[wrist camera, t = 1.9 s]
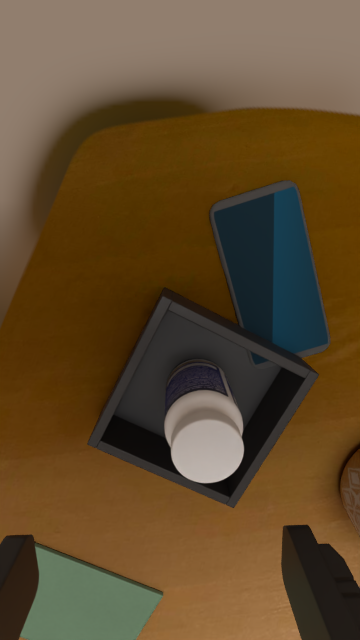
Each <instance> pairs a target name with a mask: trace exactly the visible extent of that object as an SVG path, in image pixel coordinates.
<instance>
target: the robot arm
mask: <svg viewBox="0 0 360 640" xmlns="http://www.w3.org/2000/svg"><path fill="white" fill-rule="evenodd" d="M281 565H282V575H283V581H284V585H285V589H286V592H287V595H288V598H289V601H290V604H291V608H292V611H293V614H294V617H295V620H296V623H297V626H298V629H299V633H300V636H301V639H302V640H360V588H359V587H358V585H357V583H356V581H354V578H353V575H352V573H351V572H350V570H349V568H348V566H347V564H346V562H345V560H344V559H343V558H342V557H341V556H340V555H339V554H338V553H337V552H336V551H335V550H334V548H333V547H332V546H331V545H330V544H318V543H317V541H316V539H315V537H314V535H313V533H312V531H311V529H310V527H309V526H308V525H288V526H284V527H283V537H282V562H281ZM38 584H39V568H38V562H37V555H36V549H35V542H34V538H33V536H32V535H9V536H6V537H5V538H4V539H3V541H2V543H1V544H0V640H19V637H20V635H21V632H22V629H23V627H24V624H25V622H26V619H27V617H28V614H29V612H30V609H31V607H32V604H33V602H34V599H35V597H36V593H37V589H38Z"/></svg>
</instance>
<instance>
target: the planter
mask: <svg viewBox="0 0 360 640" xmlns="http://www.w3.org/2000/svg"><path fill="white" fill-rule="evenodd" d="M340 493H341V499H342V502H343V505H344V507H345V509H346V511H347V513H348V515H349V517H350V519H351V521H352V523H353V525H354V527H355V529H356V531H357V533H358V535H359V537H360V448H359V449H358V450H357V451H356V452H355V453H354V454H353V455H352V457H351V458H350V459H349V461H348V462H347V464H346V466H345V468H344V471H343V473H342V477H341V482H340Z"/></svg>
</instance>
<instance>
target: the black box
mask: <svg viewBox="0 0 360 640" xmlns="http://www.w3.org/2000/svg"><path fill="white" fill-rule="evenodd" d="M246 349H247V350H249V351H251V352H253V353H255V354H257V355H259V356H261V357H263V358H265V359H267V360H269V361H271V362H273V363H275V364H277V365H275V366H272V367H268V368H265V369H257V368H256V367H254V366H252V364H251V363H250V361H249V358H248V355H247V351H246ZM193 359H203V360H207V361H210V362H212V363H214V364H216V365H217V366H218V367H220V368H221V369H222V371H223V372H224V373H225V375H226V377H227V379H228V382H229V384H230V387H231V390H232V392H233V395H234V397H235V400H236V403H237V405H238V408H239V410H240V413H241V416H242V421H243V433H242V441H243V445H244V454H243V458H242V461H241V463H240V465H239V467H238V468H237V469H236V471H235V472H234V473H232V474H231V475H230V476H229V477H227V478H225V479H223V480H221V481H218V482H213V483H199V482H195V481H192V480H189V479H188V478H186V477H184V476H183V475H182V474H181V473H180V472H179V471H178V470H177V469H176V467H175V465H174V463H173V461H172V457H171V447H170V445H169V444H168V441H167V439H166V436H165V429H164V419H165V399H166V385H167V381H168V378H169V376H170V374H171V373H172V371H173V370H174V369H175V368H176V367H177V366H178V365H180V364H182V363H183V362H186V361H188V360H193ZM318 376H319V374H318V373H317V372H316V371H315V370H313V369H312V368H311V367H310V366H309V365H308V364H307V363H306V362H305V361H303V360H302V359H301V358H300V357H299V356H297V355H295V354H293V353H291V352H289V351H287V350H285V349H283V348H281V347H279V346H277V345H276V344H274V343H272V342H270V341H268V340H266V339H264V338H262V337H260V336H258V335H256V334H254V333H252V332H250V331H248V330H246V329H244V328H242V327H240V326H239V325H238V324H236V323H234V322H232V321H230V320H228V319H226V318H224V317H222V316H220V315H218V314H216V313H214V312H212V311H210V310H208V309H206V308H204V307H202V306H200V305H198V304H196V303H194V302H192V301H190V300H188V299H186V298H184V297H182V296H181V295H179V294H177V293H175V292H173V291H171V290H169V289H167V288H165V287H164V289H163V291H162V293H161V295H160V297H159V299H158V301H157V303H156V305H155V307H154V309H153V311H152V313H151V315H150V317H149V319H148V321H147V323H146V325H145V326H144V328H143V330H142V332H141V334H140V336H139V338H138V340H137V342H136V344H135V346H134V348H133V350H132V352H131V354H130V356H129V358H128V360H127V362H126V364H125V366H124V368H123V370H122V372H121V374H120V376H119V378H118V380H117V382H116V384H115V386H114V388H113V390H112V392H111V394H110V396H109V398H108V400H107V402H106V404H105V406H104V408H103V410H102V412H101V414H100V416H99V418H98V420H97V423H96V425H95V427H94V429H93V432H92V434H91V436H90V439H89V441H88V443H87V444H88V445H90V446H92V447H94V448H97V449H99V450H101V451H103V452H106V453H108V454H110V455H113V456H115V457H117V458H120V459H122V460H124V461H126V462H129V463H131V464H133V465H136V466H138V467H140V468H143V469H145V470H147V471H149V472H152V473H154V474H156V475H159V476H161V477H163V478H166V479H168V480H170V481H173V482H175V483H177V484H179V485H182V486H184V487H186V488H189V489H191V490H193V491H196V492H198V493H200V494H202V495H205V496H207V497H209V498H212V499H214V500H216V501H219V502H221V503H223V504H226V505H228V506H230V507H232V508H234V507H235V505H236V504H237V502H238V501H239V499H240V498H241V496H242V494H243V493H244V491H245V490H246V488H247V487H248V485H249V484H250V482H251V480H252V479H253V477H254V476H255V474H256V473H257V471H258V469H259V468H260V466H261V465H262V463H263V462H264V460H265V459H266V457H267V455H268V454H269V452H270V451H271V449H272V448H273V446H274V444H275V443H276V441H277V440H278V438H279V437H280V435H281V434H282V432H283V430H284V429H285V427H286V426H287V424H288V423H289V421H290V419H291V418H292V416H293V415H294V413H295V412H296V410H297V409H298V407H299V405H300V404H301V402H302V401H303V399H304V398H305V396H306V394H307V393H308V391H309V390H310V388H311V387H312V385H313V383H314V382H315V380H316V379H317V377H318Z"/></svg>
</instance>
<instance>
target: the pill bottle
mask: <svg viewBox="0 0 360 640" xmlns="http://www.w3.org/2000/svg"><path fill="white" fill-rule="evenodd" d="M164 429H165V436H166V439H167V441H168V444H169V445H170V447H171V457H172V461H173V463H174V465H175V467H176V469H177V470H178V471H179V472H180V473H181V474H182V475H183V476H184V477H186V478H188V479H189V480H192V481H195V482H199V483H213V482H218V481H221V480H223V479H225V478H227V477H229V476H230V475H231V474H232V473H234V472H235V471H236V469H237V468H238V467H239V465H240V463H241V461H242V458H243V454H244V445H243V441H242V433H243V421H242V416H241V413H240V410H239V408H238V405H237V403H236V400H235V397H234V395H233V392H232V390H231V387H230V384H229V382H228V379H227V377H226V375H225V373H224V372H223V371H222V369H221V368H220V367H218V366H217V365H216V364H214V363H212V362H210V361H207V360H203V359H193V360H188V361H186V362H183V363H182V364H180V365H178V366H177V367H176V368H175V369H174V370H173V371H172V373H171V374H170V376H169V378H168V381H167V385H166V399H165V419H164Z"/></svg>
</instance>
